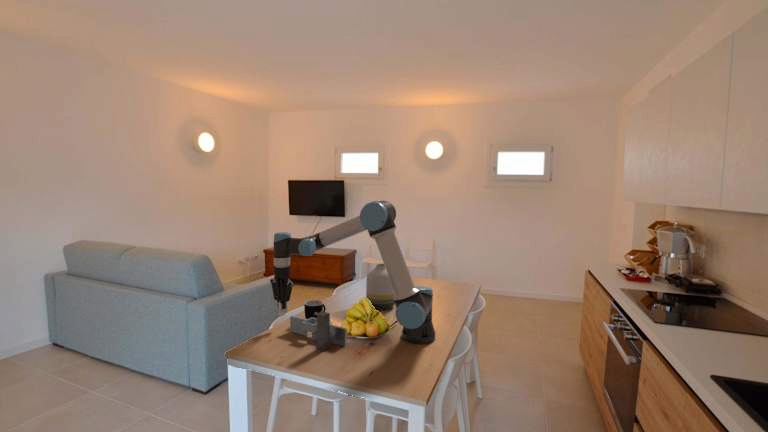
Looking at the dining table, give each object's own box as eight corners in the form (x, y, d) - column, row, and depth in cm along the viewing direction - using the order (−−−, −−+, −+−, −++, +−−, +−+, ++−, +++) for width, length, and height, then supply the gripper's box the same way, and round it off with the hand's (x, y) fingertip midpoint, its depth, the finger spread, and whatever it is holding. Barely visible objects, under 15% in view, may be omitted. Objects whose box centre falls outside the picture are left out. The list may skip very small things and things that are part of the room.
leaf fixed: (349, 343, 155) (349, 326, 154) (341, 348, 149) (341, 331, 148) (320, 335, 162) (320, 319, 161) (311, 340, 156) (311, 324, 156)
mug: (312, 328, 170) (312, 307, 169) (300, 323, 176) (300, 303, 175) (331, 320, 180) (331, 301, 179) (319, 316, 185) (319, 297, 184)
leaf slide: (323, 335, 161) (323, 320, 161) (314, 341, 155) (314, 325, 155) (296, 328, 169) (296, 313, 168) (286, 333, 162) (286, 318, 162)
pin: (329, 348, 149) (329, 313, 148) (324, 351, 146) (324, 315, 145) (322, 346, 151) (322, 311, 150) (317, 349, 148) (317, 314, 147)
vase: (390, 313, 192) (391, 269, 190) (361, 309, 197) (362, 266, 195) (399, 303, 208) (400, 263, 206) (372, 300, 213) (373, 260, 211)
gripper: (298, 266, 166) (297, 315, 168) (277, 262, 172) (277, 310, 174) (287, 269, 159) (286, 320, 161) (265, 265, 165) (265, 315, 167)
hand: (281, 315), depth 168 cm, fingers closed
